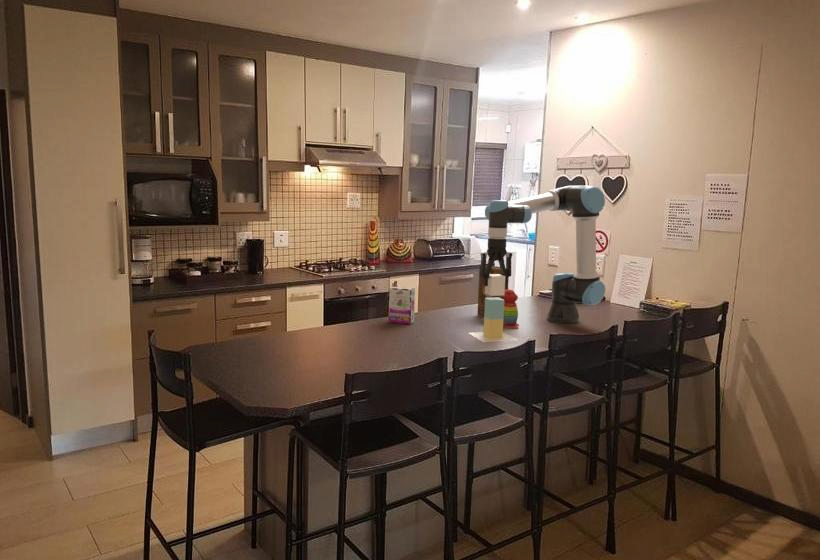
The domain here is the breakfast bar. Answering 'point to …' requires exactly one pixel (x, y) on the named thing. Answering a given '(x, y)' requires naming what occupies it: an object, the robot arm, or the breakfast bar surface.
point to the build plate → (485, 339)
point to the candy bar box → (401, 305)
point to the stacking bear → (510, 310)
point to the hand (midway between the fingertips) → (494, 293)
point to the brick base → (493, 328)
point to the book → (481, 290)
